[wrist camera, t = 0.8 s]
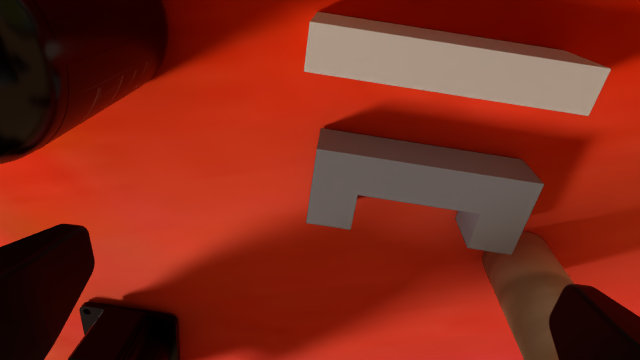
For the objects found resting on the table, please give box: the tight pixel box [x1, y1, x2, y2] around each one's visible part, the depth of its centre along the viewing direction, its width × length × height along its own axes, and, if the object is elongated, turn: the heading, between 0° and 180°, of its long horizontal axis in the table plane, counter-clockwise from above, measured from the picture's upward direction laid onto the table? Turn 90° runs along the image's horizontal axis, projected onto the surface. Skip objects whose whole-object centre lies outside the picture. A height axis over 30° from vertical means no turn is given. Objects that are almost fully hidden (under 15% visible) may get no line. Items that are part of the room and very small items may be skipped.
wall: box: [304, 12, 611, 116], centre depth 16 cm, size 2×11×4 cm, turn 83°
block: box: [306, 128, 544, 255], centre depth 20 cm, size 4×10×3 cm, turn 83°
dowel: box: [482, 231, 574, 360], centre depth 20 cm, size 4×4×7 cm
